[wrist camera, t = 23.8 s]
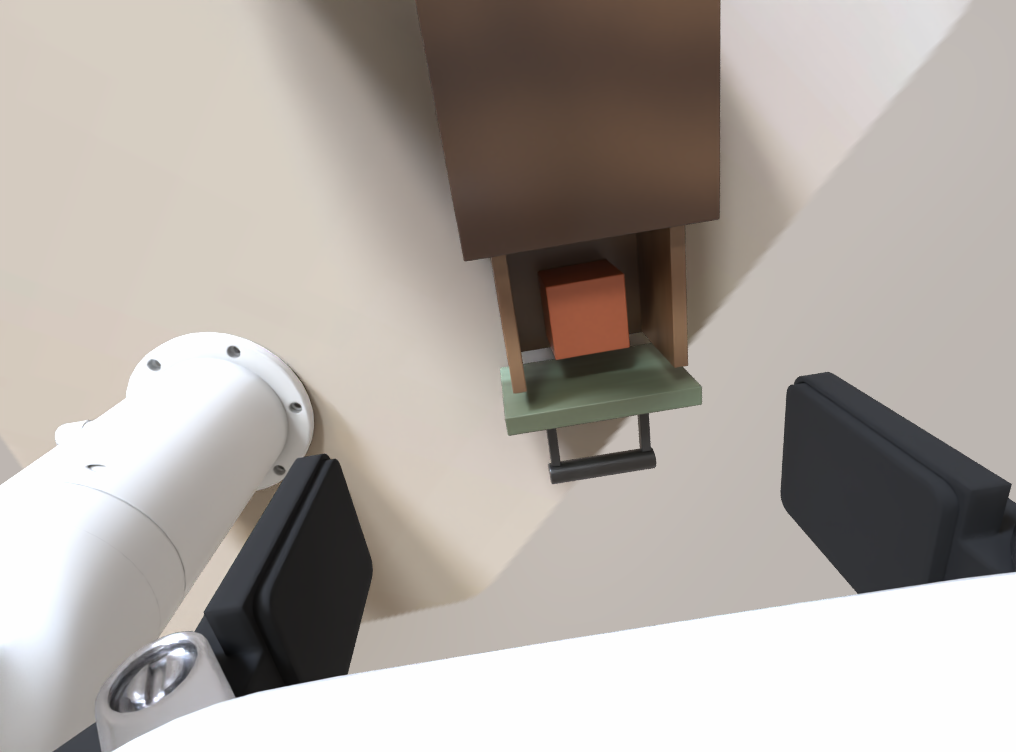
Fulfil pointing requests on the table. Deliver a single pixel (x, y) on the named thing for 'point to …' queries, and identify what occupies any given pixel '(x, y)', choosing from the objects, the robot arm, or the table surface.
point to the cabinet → (574, 117)
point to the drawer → (606, 375)
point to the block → (584, 308)
